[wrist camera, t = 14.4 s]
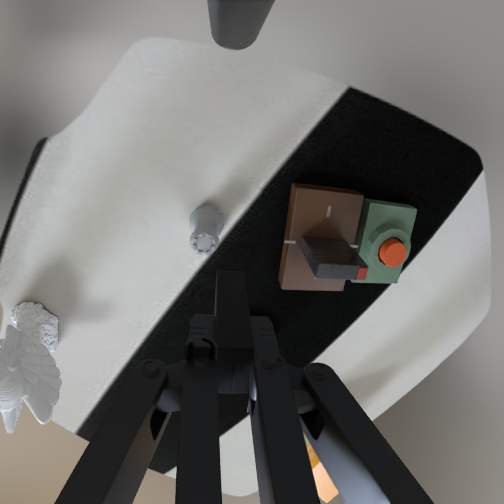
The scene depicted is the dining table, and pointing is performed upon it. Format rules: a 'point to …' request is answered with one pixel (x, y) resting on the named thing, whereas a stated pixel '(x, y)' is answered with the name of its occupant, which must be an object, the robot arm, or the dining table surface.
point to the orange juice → (321, 476)
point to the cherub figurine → (29, 365)
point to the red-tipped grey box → (333, 258)
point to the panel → (316, 231)
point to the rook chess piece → (205, 229)
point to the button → (392, 252)
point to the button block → (383, 236)
